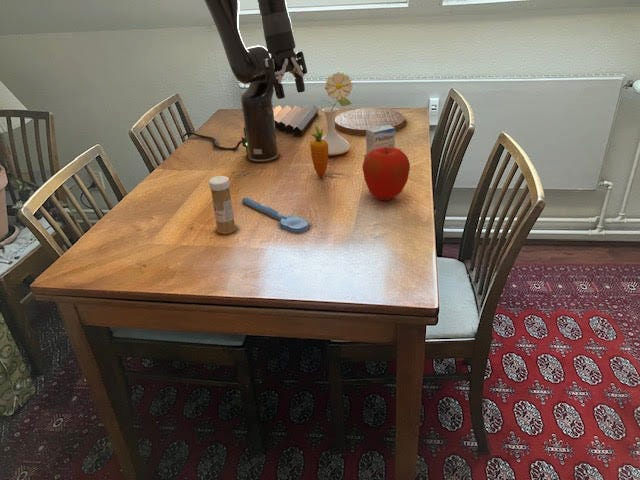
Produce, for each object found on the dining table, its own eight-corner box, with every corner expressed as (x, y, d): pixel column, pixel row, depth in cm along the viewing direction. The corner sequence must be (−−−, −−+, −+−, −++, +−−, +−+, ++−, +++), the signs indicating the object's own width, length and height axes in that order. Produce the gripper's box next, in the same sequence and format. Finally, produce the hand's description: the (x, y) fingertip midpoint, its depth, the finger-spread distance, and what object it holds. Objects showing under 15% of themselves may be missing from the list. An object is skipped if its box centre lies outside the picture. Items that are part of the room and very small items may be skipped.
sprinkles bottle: (213, 231, 127) (204, 180, 120) (227, 224, 130) (219, 173, 123) (225, 237, 124) (217, 184, 117) (240, 229, 127) (232, 178, 120)
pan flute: (302, 136, 182) (318, 114, 203) (301, 126, 180) (318, 105, 201) (234, 134, 188) (257, 112, 208) (233, 125, 186) (256, 104, 207)
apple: (396, 211, 130) (397, 158, 123) (354, 202, 136) (353, 150, 129) (416, 192, 139) (418, 141, 132) (375, 184, 145) (375, 135, 138)
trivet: (408, 133, 179) (408, 128, 178) (335, 136, 180) (335, 131, 179) (400, 111, 200) (400, 106, 200) (334, 114, 201) (334, 109, 200)
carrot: (327, 182, 148) (325, 130, 140) (310, 181, 149) (307, 130, 141) (331, 175, 152) (328, 124, 144) (314, 174, 153) (311, 124, 145)
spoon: (236, 206, 138) (235, 199, 137) (251, 199, 141) (250, 193, 140) (296, 235, 123) (296, 228, 122) (312, 227, 126) (312, 220, 125)
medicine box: (373, 160, 160) (373, 132, 156) (365, 155, 164) (365, 128, 159) (395, 154, 163) (395, 127, 159) (387, 150, 166) (387, 123, 162)
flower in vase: (308, 156, 165) (303, 75, 152) (322, 144, 174) (318, 66, 161) (348, 161, 161) (345, 77, 148) (359, 147, 170) (358, 68, 157)
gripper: (285, 31, 144) (297, 91, 150) (249, 38, 134) (264, 102, 140) (306, 26, 140) (317, 88, 145) (270, 33, 130) (284, 99, 135)
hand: (291, 95), depth 143 cm, fingers open, 8 cm apart
